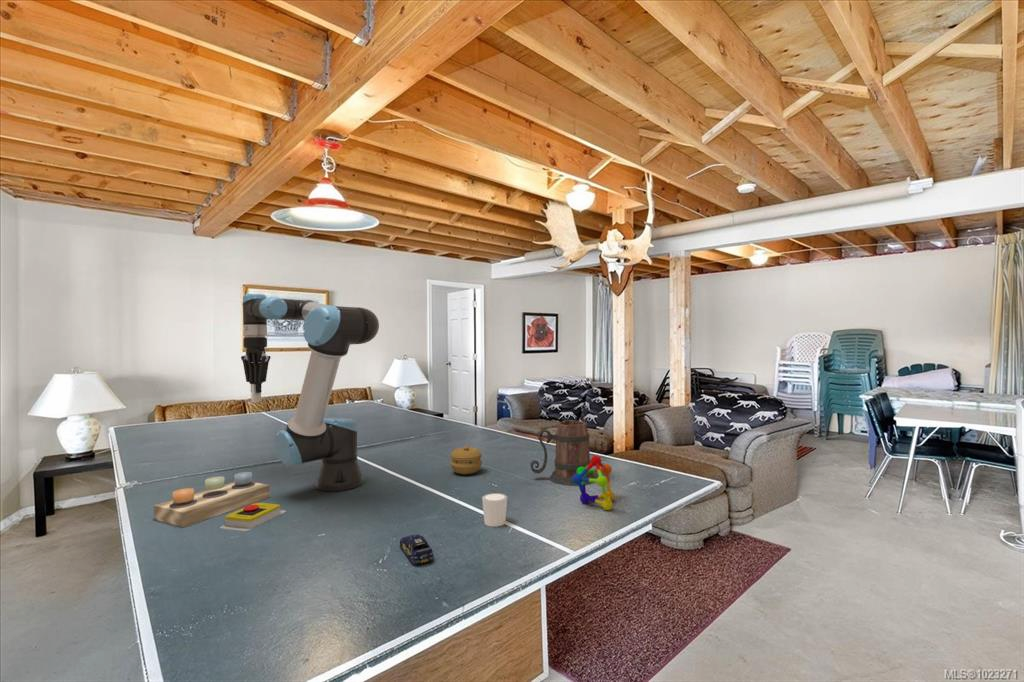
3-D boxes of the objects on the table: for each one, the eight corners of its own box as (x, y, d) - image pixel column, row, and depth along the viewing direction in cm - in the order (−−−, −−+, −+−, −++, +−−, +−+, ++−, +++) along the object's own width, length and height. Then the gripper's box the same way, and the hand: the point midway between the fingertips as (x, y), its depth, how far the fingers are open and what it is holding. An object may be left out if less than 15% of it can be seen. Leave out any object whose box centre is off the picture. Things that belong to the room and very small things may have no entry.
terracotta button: (197, 498, 135) (197, 489, 135) (179, 504, 130) (179, 494, 130) (187, 496, 137) (187, 487, 137) (168, 501, 132) (168, 492, 132)
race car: (390, 546, 114) (389, 528, 114) (416, 539, 118) (415, 522, 118) (414, 571, 102) (414, 551, 102) (442, 562, 106) (442, 543, 106)
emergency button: (217, 514, 126) (261, 495, 140) (218, 530, 126) (261, 510, 140) (245, 517, 124) (287, 498, 138) (246, 533, 124) (287, 512, 138)
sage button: (228, 486, 143) (228, 477, 143) (211, 490, 138) (211, 482, 138) (218, 484, 145) (217, 475, 145) (201, 488, 140) (201, 480, 140)
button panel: (269, 497, 150) (269, 484, 150) (183, 527, 127) (183, 511, 127) (241, 491, 156) (241, 479, 156) (153, 519, 133) (153, 504, 133)
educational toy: (572, 499, 148) (571, 451, 149) (613, 500, 146) (612, 452, 148) (573, 513, 132) (572, 459, 134) (619, 514, 131) (618, 460, 132)
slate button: (255, 480, 151) (255, 472, 151) (240, 485, 146) (240, 477, 146) (245, 479, 153) (245, 471, 153) (230, 483, 149) (230, 475, 149)
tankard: (591, 471, 175) (590, 418, 175) (601, 485, 158) (601, 426, 158) (529, 472, 174) (528, 419, 174) (532, 487, 158) (531, 427, 157)
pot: (455, 468, 182) (454, 442, 182) (484, 468, 181) (484, 442, 181) (446, 476, 171) (446, 449, 171) (478, 477, 169) (478, 450, 169)
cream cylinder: (488, 529, 123) (488, 502, 123) (478, 520, 129) (478, 495, 129) (512, 524, 126) (511, 498, 126) (500, 516, 132) (500, 491, 132)
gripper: (233, 337, 169) (234, 402, 169) (257, 336, 163) (258, 404, 163) (253, 336, 175) (254, 399, 175) (276, 336, 170) (277, 401, 170)
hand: (256, 401), depth 169 cm, fingers closed
